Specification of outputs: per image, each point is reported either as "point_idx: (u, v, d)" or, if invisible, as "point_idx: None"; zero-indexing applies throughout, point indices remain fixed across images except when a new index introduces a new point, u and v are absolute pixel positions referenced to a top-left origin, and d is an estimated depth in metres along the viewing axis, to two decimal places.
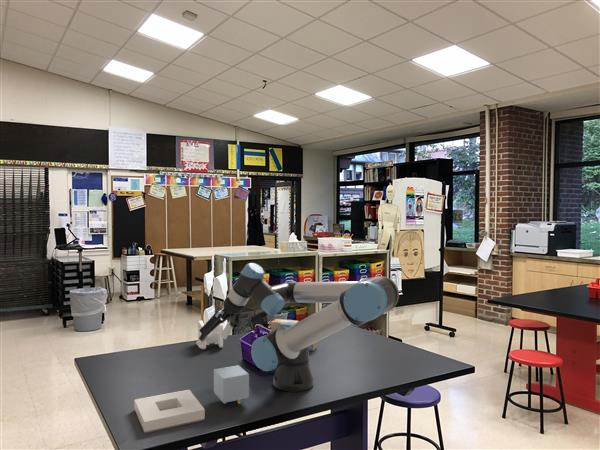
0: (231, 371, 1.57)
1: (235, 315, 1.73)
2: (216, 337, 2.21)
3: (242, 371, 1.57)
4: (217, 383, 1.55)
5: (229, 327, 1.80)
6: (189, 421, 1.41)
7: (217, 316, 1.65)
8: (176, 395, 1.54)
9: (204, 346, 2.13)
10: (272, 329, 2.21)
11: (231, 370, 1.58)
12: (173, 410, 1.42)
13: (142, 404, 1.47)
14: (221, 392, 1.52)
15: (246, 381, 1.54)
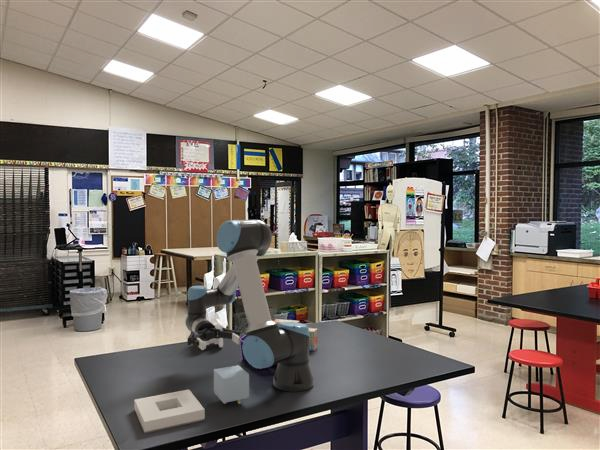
0: (231, 371, 1.57)
1: (214, 328, 1.79)
2: None
3: (242, 371, 1.57)
4: (217, 383, 1.55)
5: (232, 336, 1.73)
6: (189, 421, 1.41)
7: None
8: (176, 395, 1.54)
9: (204, 346, 2.13)
10: None
11: (231, 370, 1.58)
12: (173, 410, 1.42)
13: (142, 404, 1.47)
14: (221, 392, 1.52)
15: (246, 381, 1.54)
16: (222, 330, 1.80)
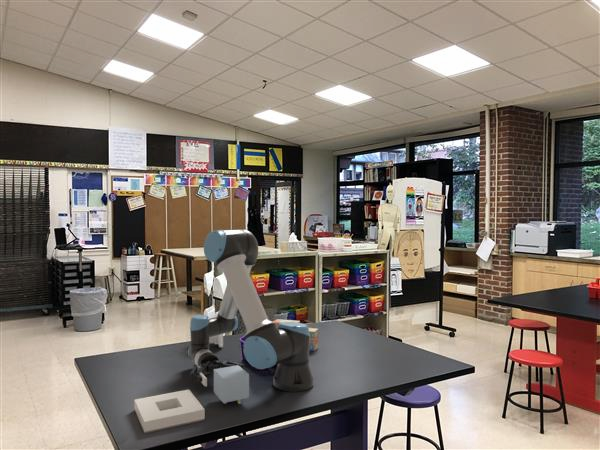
0: (231, 371, 1.57)
1: (217, 360, 1.75)
2: (216, 337, 2.21)
3: (242, 371, 1.57)
4: (217, 383, 1.55)
5: None
6: (189, 421, 1.41)
7: (193, 367, 1.71)
8: (176, 395, 1.54)
9: None
10: None
11: (231, 370, 1.58)
12: (173, 410, 1.42)
13: (142, 404, 1.47)
14: (221, 392, 1.52)
15: (246, 381, 1.54)
16: (225, 362, 1.76)
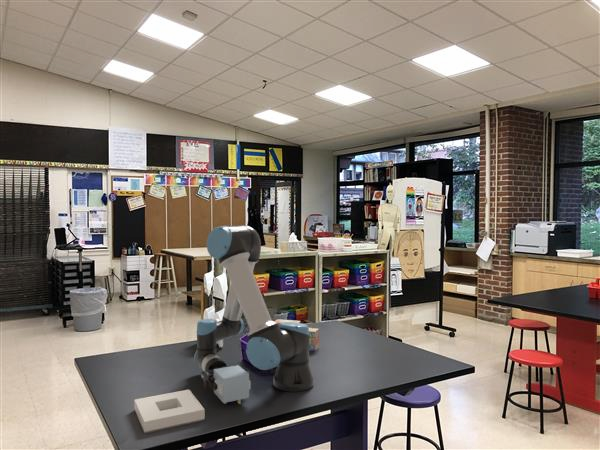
0: (231, 371, 1.57)
1: (225, 366, 1.67)
2: None
3: (242, 371, 1.57)
4: None
5: None
6: (189, 421, 1.41)
7: (202, 375, 1.63)
8: (176, 395, 1.54)
9: None
10: None
11: (231, 370, 1.58)
12: (173, 410, 1.42)
13: (142, 404, 1.47)
14: None
15: (246, 381, 1.54)
16: None
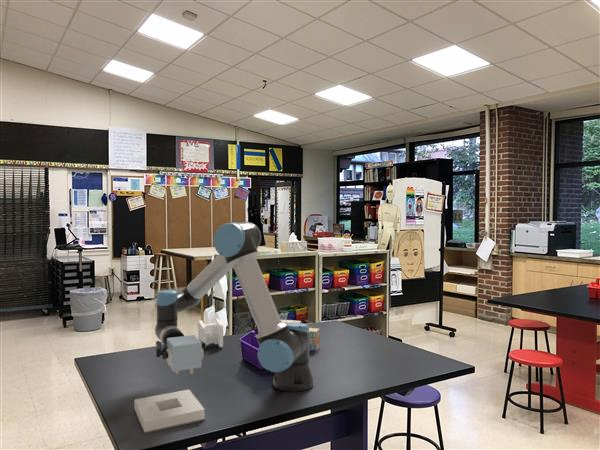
0: (184, 339, 1.51)
1: None
2: (216, 337, 2.21)
3: (195, 340, 1.51)
4: None
5: None
6: (189, 421, 1.41)
7: (156, 344, 1.57)
8: (176, 395, 1.54)
9: None
10: None
11: (184, 339, 1.52)
12: (173, 410, 1.42)
13: (142, 404, 1.47)
14: None
15: (198, 350, 1.48)
16: None
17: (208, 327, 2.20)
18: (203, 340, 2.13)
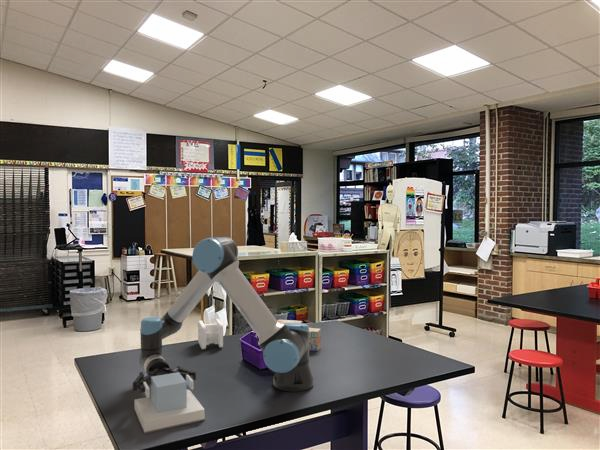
0: (169, 378, 1.47)
1: (167, 367, 1.58)
2: (216, 337, 2.21)
3: (180, 379, 1.47)
4: (153, 392, 1.45)
5: (186, 378, 1.52)
6: (189, 421, 1.41)
7: None
8: None
9: (204, 346, 2.13)
10: None
11: (169, 377, 1.48)
12: (173, 410, 1.42)
13: (142, 404, 1.47)
14: (155, 402, 1.42)
15: (183, 390, 1.44)
16: (176, 370, 1.59)
17: (208, 327, 2.20)
18: (203, 340, 2.13)
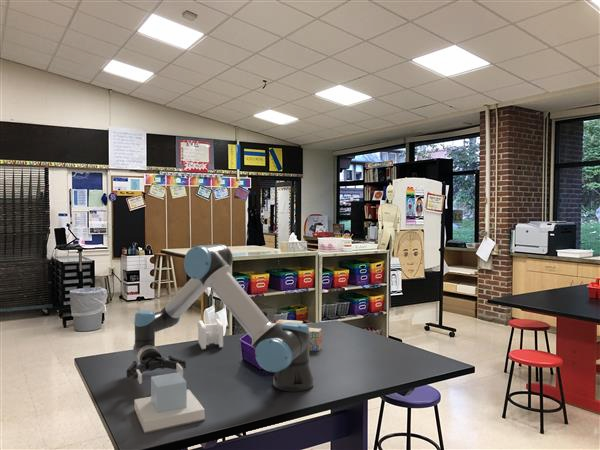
0: (169, 378, 1.47)
1: (159, 357, 1.69)
2: (216, 337, 2.21)
3: (180, 379, 1.47)
4: (153, 392, 1.45)
5: (176, 366, 1.63)
6: (189, 421, 1.41)
7: None
8: None
9: (204, 346, 2.13)
10: None
11: (169, 377, 1.48)
12: (173, 410, 1.42)
13: (142, 404, 1.47)
14: (155, 402, 1.42)
15: (183, 390, 1.44)
16: (168, 359, 1.70)
17: (208, 327, 2.20)
18: (203, 340, 2.13)
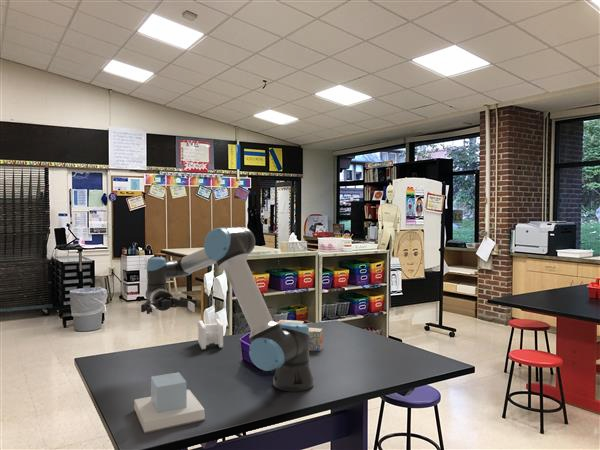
0: (169, 378, 1.47)
1: (171, 297, 1.77)
2: (216, 337, 2.21)
3: (180, 379, 1.47)
4: (153, 392, 1.45)
5: (188, 304, 1.71)
6: (189, 421, 1.41)
7: None
8: None
9: (204, 346, 2.13)
10: None
11: (169, 377, 1.48)
12: (173, 410, 1.42)
13: (142, 404, 1.47)
14: (155, 402, 1.42)
15: (183, 390, 1.44)
16: (179, 299, 1.78)
17: (208, 327, 2.20)
18: (203, 340, 2.13)
